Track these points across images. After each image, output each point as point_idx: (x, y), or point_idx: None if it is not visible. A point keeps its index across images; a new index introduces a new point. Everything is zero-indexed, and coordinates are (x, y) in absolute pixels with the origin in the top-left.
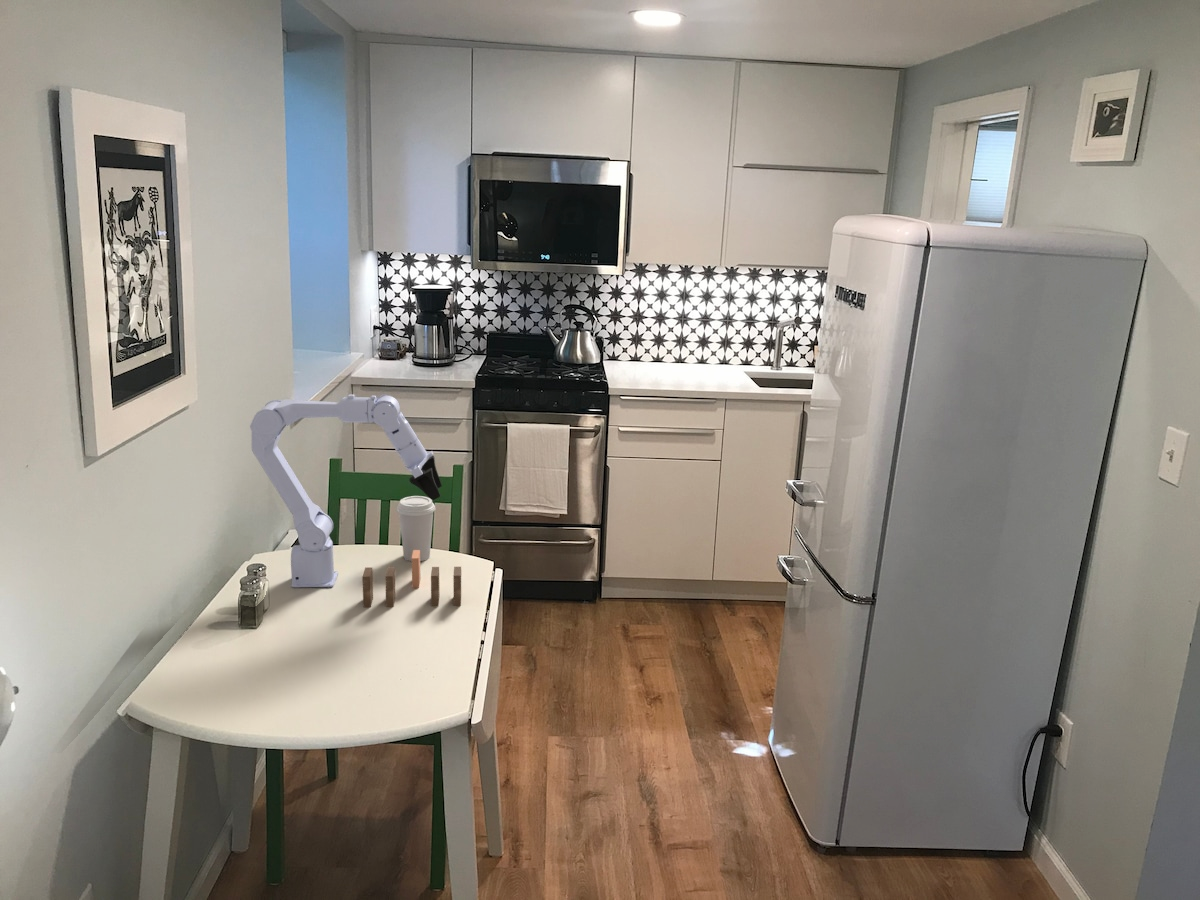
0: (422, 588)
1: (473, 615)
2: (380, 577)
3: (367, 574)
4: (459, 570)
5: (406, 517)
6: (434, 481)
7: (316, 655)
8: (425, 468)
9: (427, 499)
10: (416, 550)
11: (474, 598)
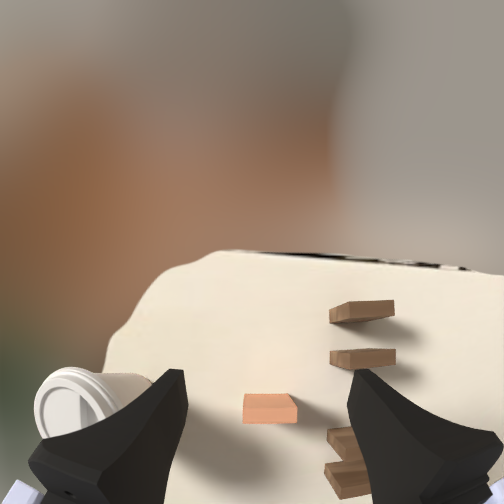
0: (291, 386)
1: (398, 284)
2: (234, 463)
3: None
4: (369, 304)
5: None
6: (407, 414)
7: None
8: (145, 496)
9: (52, 388)
10: (245, 416)
11: (337, 284)
